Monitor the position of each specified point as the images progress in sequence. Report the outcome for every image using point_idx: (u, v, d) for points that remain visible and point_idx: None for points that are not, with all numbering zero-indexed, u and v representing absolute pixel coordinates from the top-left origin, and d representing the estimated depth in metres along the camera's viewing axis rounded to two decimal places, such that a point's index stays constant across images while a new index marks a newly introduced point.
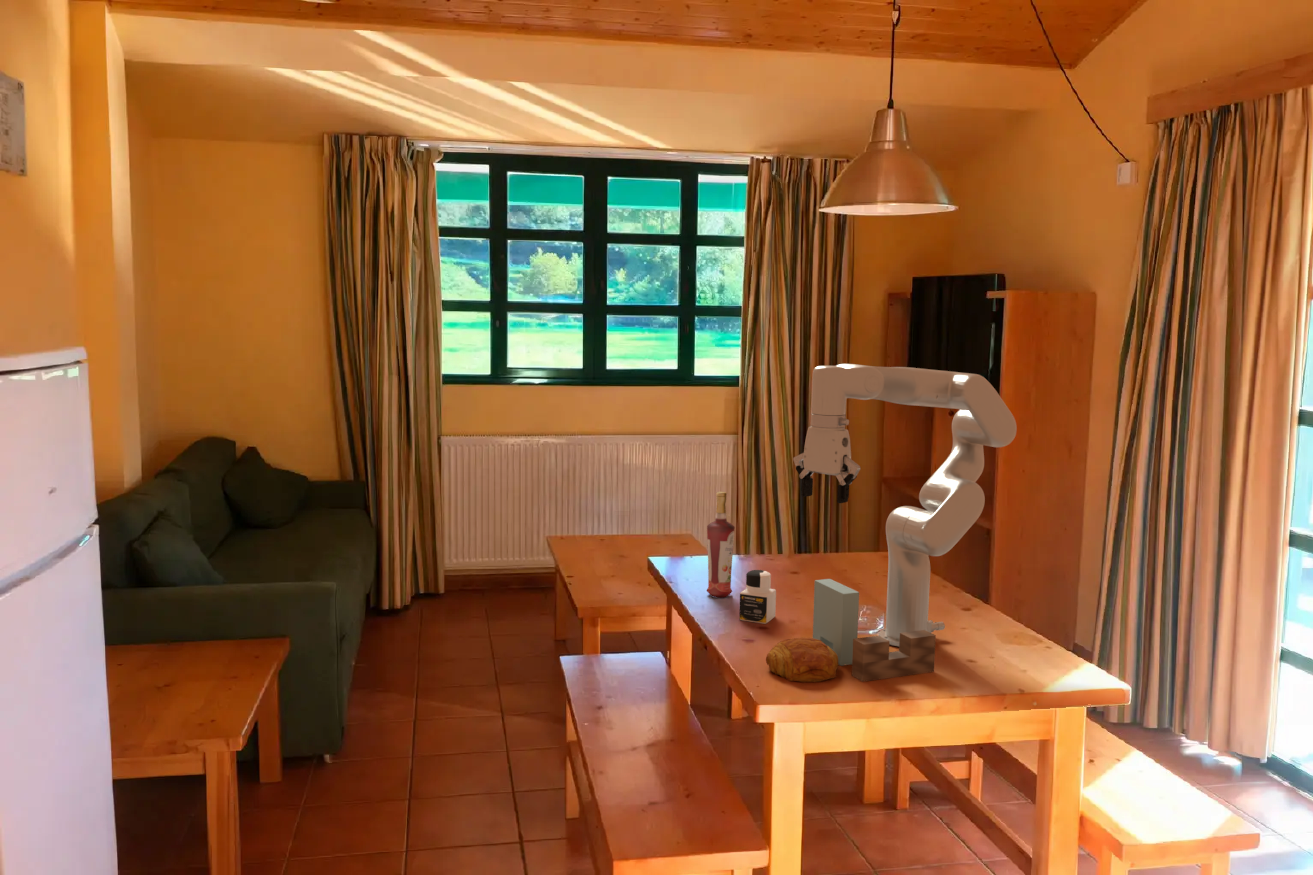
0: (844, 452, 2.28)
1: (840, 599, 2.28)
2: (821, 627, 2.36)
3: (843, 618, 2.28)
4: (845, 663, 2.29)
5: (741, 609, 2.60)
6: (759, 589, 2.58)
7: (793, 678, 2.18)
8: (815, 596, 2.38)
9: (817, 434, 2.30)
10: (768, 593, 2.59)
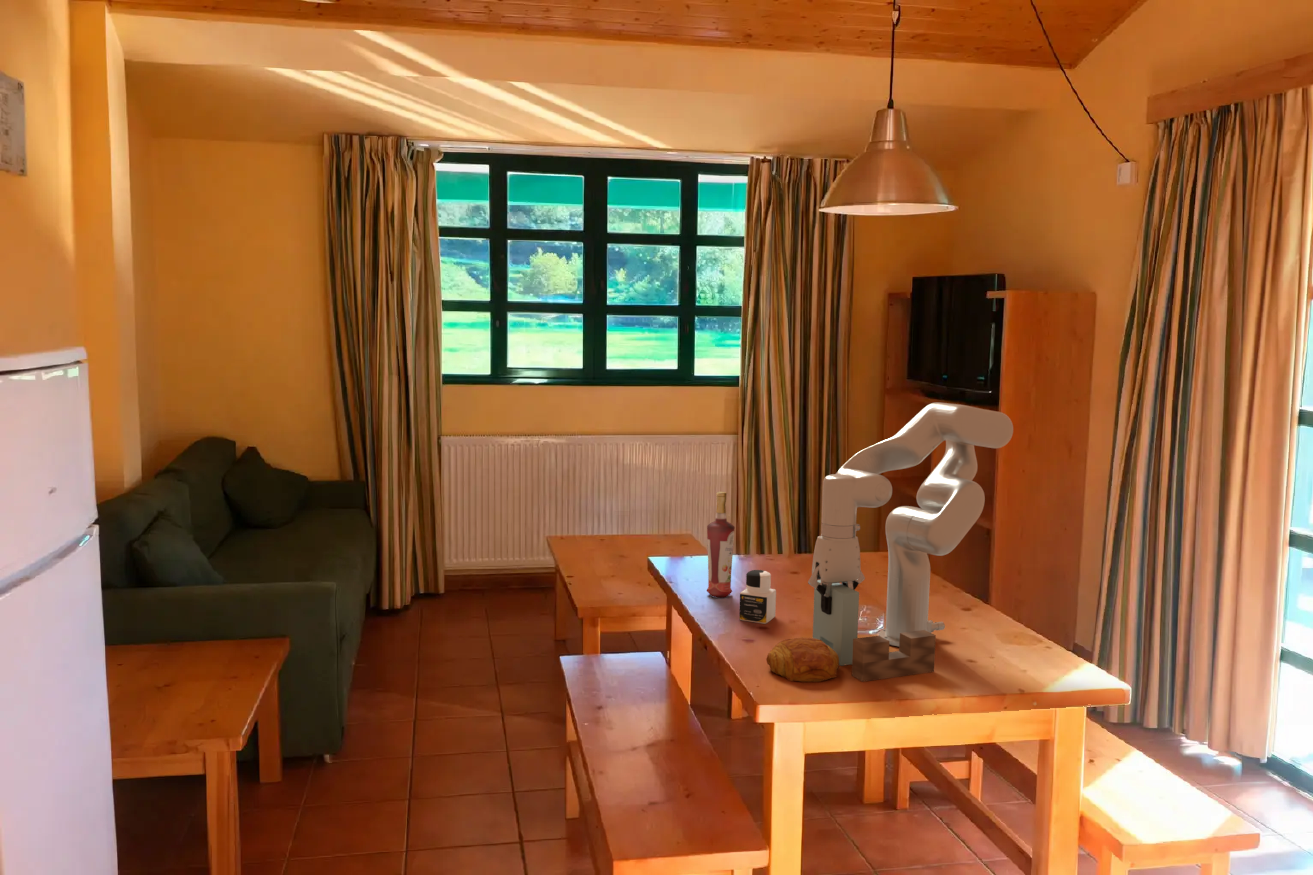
0: None
1: (840, 599, 2.28)
2: (821, 627, 2.36)
3: (843, 618, 2.28)
4: (845, 663, 2.29)
5: (741, 609, 2.60)
6: (759, 589, 2.58)
7: (794, 678, 2.19)
8: (815, 596, 2.38)
9: (841, 544, 2.29)
10: (768, 593, 2.59)
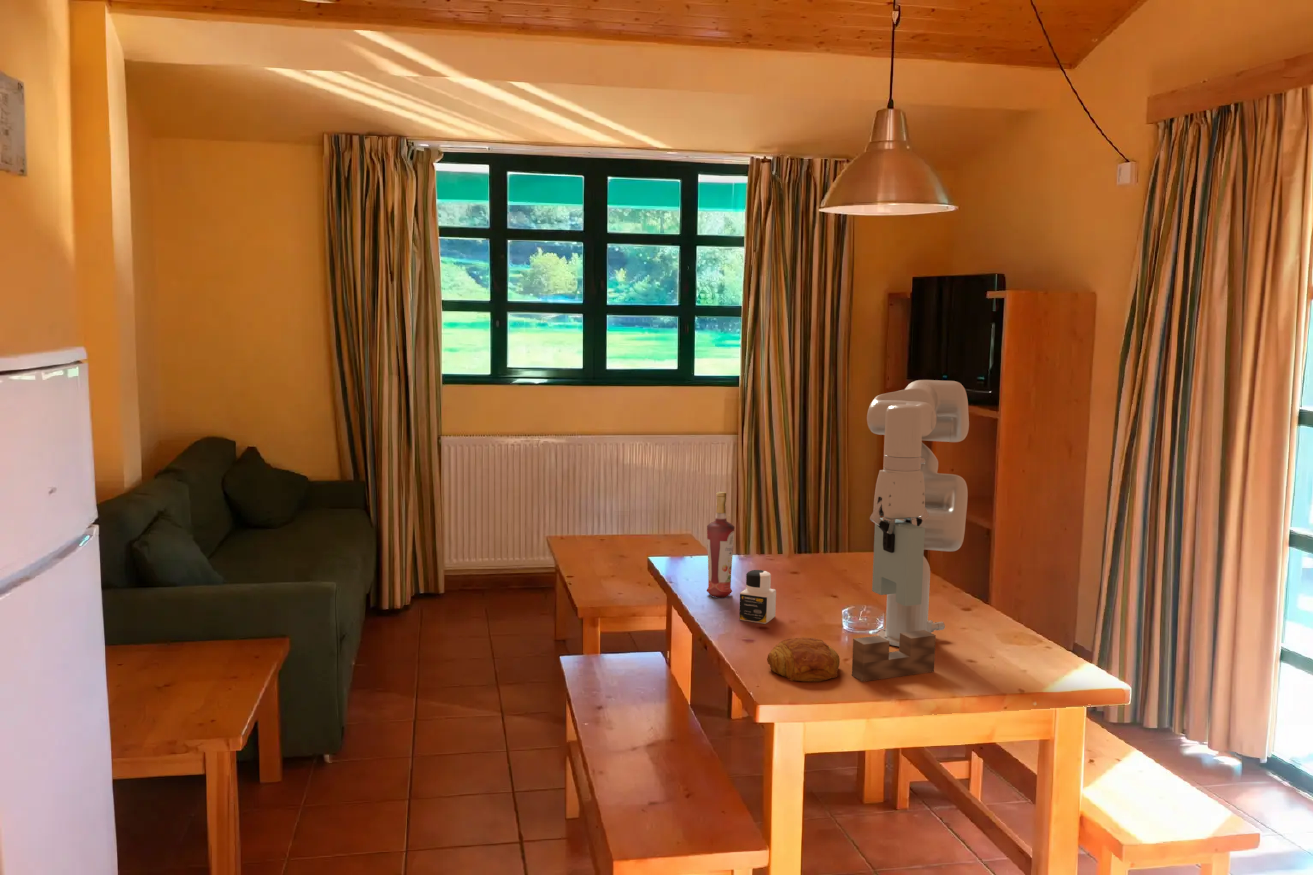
0: None
1: (905, 536, 2.15)
2: (882, 567, 2.23)
3: (908, 555, 2.15)
4: (910, 603, 2.17)
5: (741, 609, 2.60)
6: (759, 589, 2.58)
7: (795, 678, 2.19)
8: (875, 535, 2.25)
9: (905, 478, 2.17)
10: (768, 593, 2.59)
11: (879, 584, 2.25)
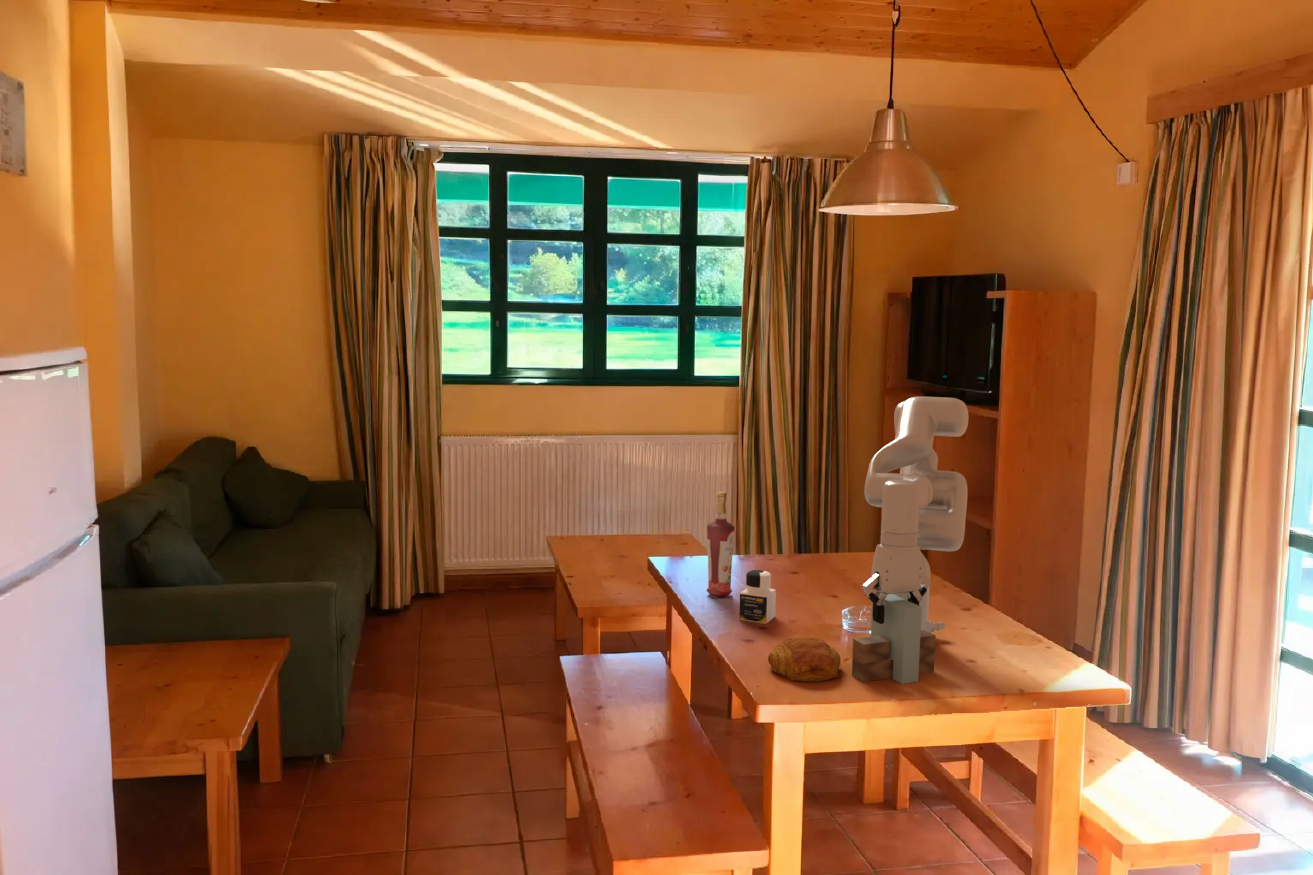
0: None
1: (902, 614, 2.17)
2: None
3: (905, 634, 2.17)
4: (907, 681, 2.19)
5: (741, 609, 2.60)
6: (759, 589, 2.58)
7: (795, 677, 2.19)
8: None
9: (902, 553, 2.19)
10: (768, 593, 2.59)
11: None
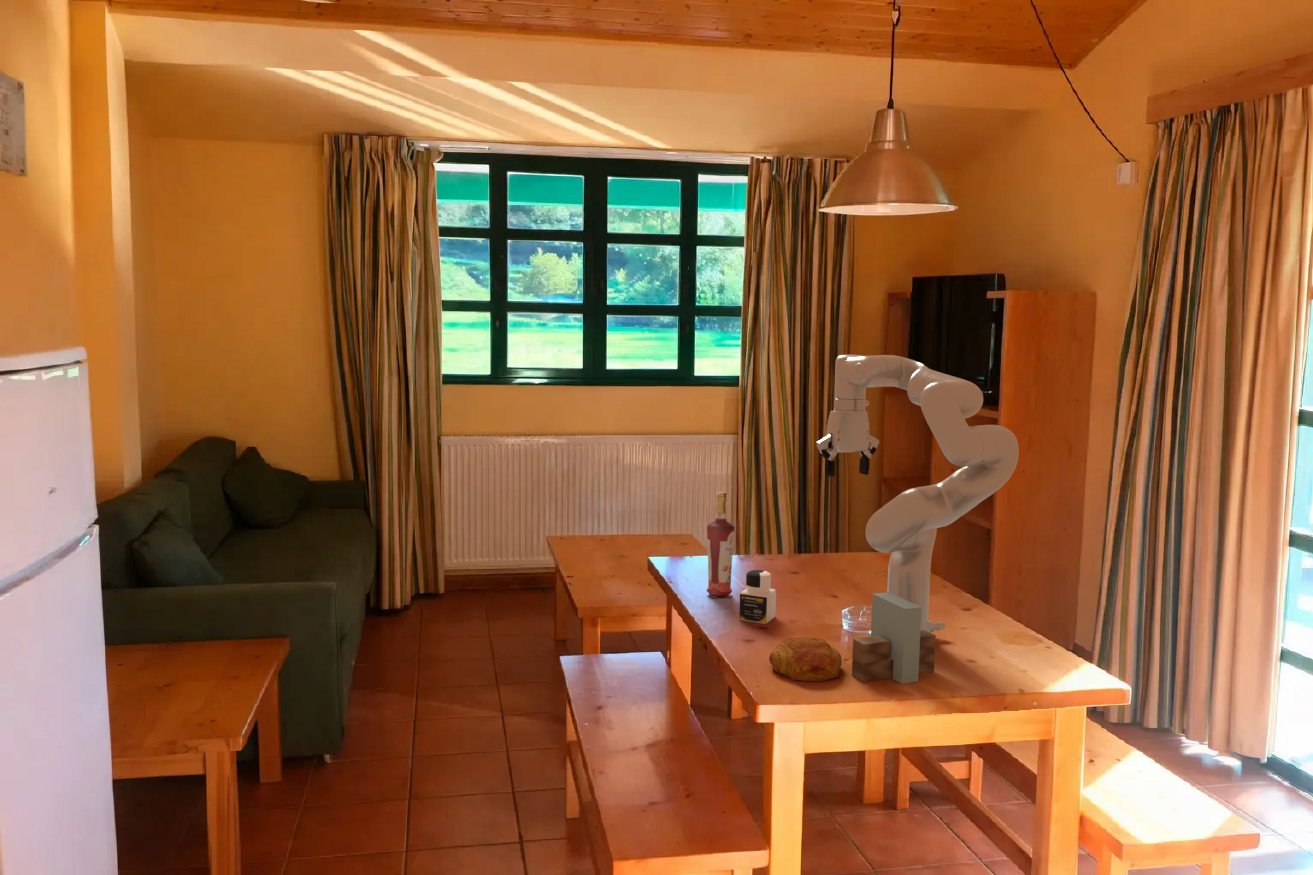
0: None
1: (902, 614, 2.17)
2: None
3: (905, 634, 2.17)
4: (907, 681, 2.19)
5: (741, 609, 2.60)
6: (759, 589, 2.58)
7: (796, 677, 2.19)
8: (873, 610, 2.27)
9: (852, 417, 2.55)
10: (768, 593, 2.59)
11: None
